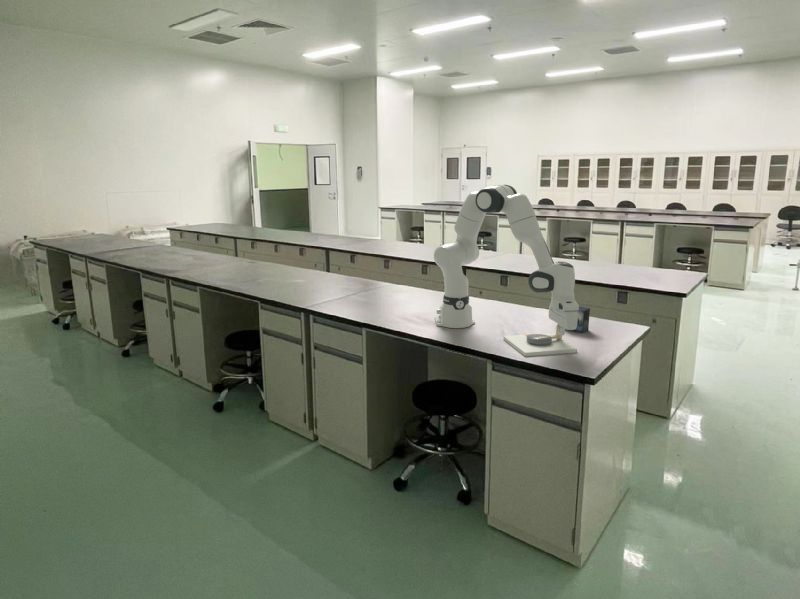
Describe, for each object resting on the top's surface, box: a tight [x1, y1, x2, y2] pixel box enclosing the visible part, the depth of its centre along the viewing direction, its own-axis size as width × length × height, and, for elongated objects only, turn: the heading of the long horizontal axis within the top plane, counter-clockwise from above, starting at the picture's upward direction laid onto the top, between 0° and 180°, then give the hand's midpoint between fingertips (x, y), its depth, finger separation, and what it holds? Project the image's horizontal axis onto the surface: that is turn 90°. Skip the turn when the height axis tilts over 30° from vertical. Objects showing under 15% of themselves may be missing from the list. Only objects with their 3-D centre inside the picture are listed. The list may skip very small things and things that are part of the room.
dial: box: [526, 325, 563, 345], centre depth 214 cm, size 16×10×6 cm, turn 108°
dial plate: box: [502, 332, 578, 357], centre depth 214 cm, size 22×22×2 cm
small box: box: [565, 305, 591, 334], centre depth 235 cm, size 11×6×10 cm, turn 45°
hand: (561, 334), depth 213 cm, fingers closed
